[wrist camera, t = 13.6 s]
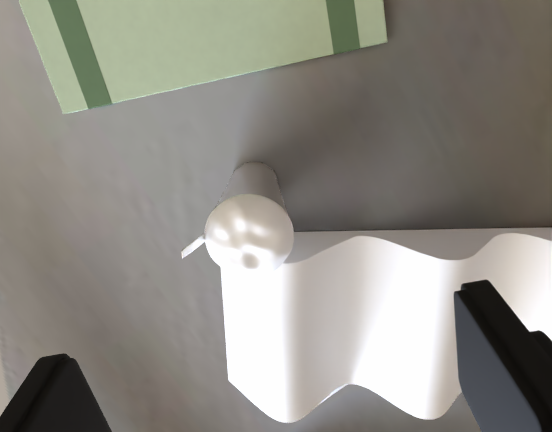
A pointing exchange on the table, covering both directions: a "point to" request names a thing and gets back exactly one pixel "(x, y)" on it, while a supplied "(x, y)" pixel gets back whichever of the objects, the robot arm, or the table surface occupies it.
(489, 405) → the robot arm
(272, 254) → the milkshake
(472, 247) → the white wavy rack
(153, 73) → the towel
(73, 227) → the table surface
